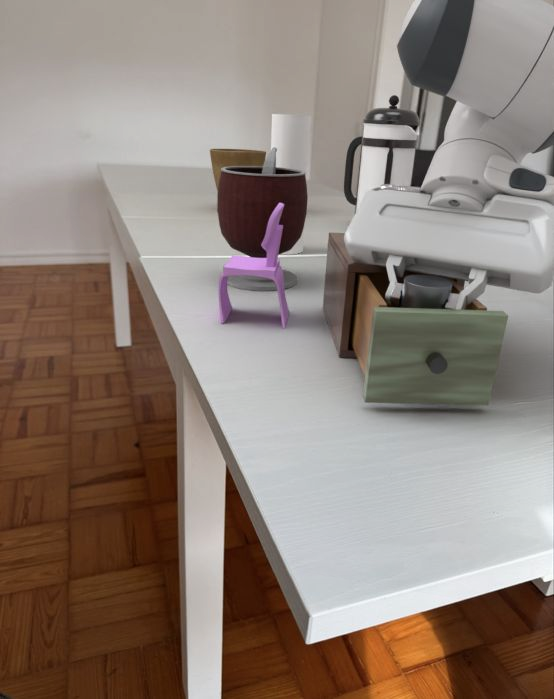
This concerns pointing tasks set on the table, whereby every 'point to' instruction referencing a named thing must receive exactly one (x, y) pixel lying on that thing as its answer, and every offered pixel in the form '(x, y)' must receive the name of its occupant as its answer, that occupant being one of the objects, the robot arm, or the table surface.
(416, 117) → the coffee press
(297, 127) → the cylindrical container
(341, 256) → the cabinet
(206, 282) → the table surface
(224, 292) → the toy chair
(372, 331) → the drawer
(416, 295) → the steel cylinder
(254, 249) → the mate gourd
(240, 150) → the plant pot
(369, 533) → the table surface
